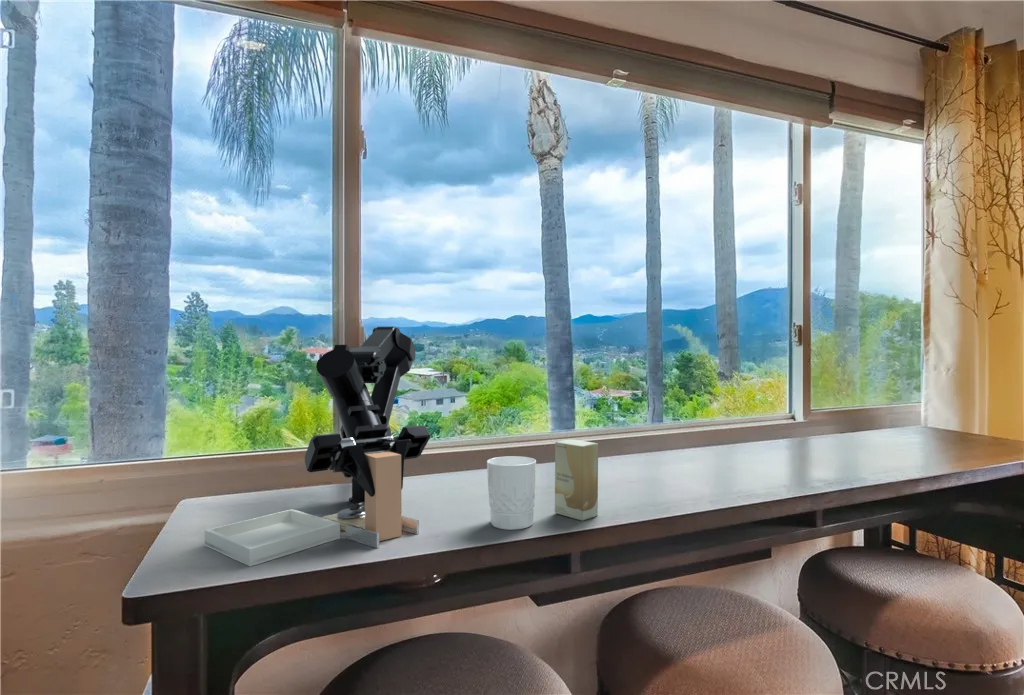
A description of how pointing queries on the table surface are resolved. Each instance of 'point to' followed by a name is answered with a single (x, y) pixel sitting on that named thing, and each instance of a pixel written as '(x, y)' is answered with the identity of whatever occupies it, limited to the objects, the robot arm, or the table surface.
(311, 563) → the table surface
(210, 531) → the tray
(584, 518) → the skincare box
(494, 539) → the table surface
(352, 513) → the bracket
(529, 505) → the white cup
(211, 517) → the table surface
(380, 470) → the tan rectangular block
